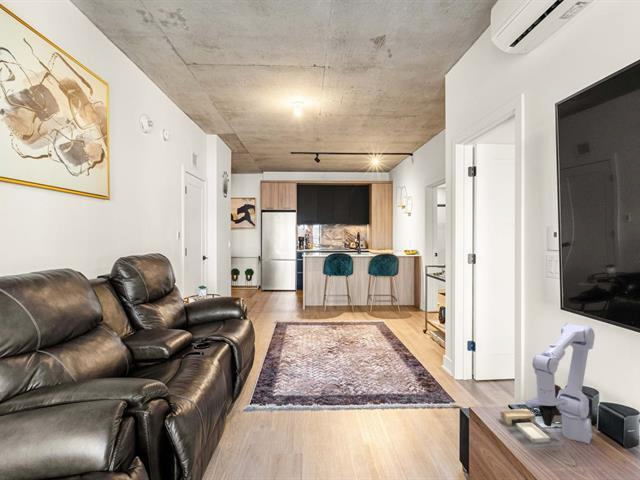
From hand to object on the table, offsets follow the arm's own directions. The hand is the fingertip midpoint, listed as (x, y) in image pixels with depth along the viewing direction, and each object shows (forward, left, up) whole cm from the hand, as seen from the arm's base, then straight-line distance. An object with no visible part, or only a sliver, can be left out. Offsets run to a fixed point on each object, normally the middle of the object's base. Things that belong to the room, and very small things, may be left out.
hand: (547, 425), depth 137 cm
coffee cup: (+4, -27, -10) cm, 29 cm away
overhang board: (+9, -9, -10) cm, 16 cm away
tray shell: (+7, -7, -9) cm, 13 cm away
